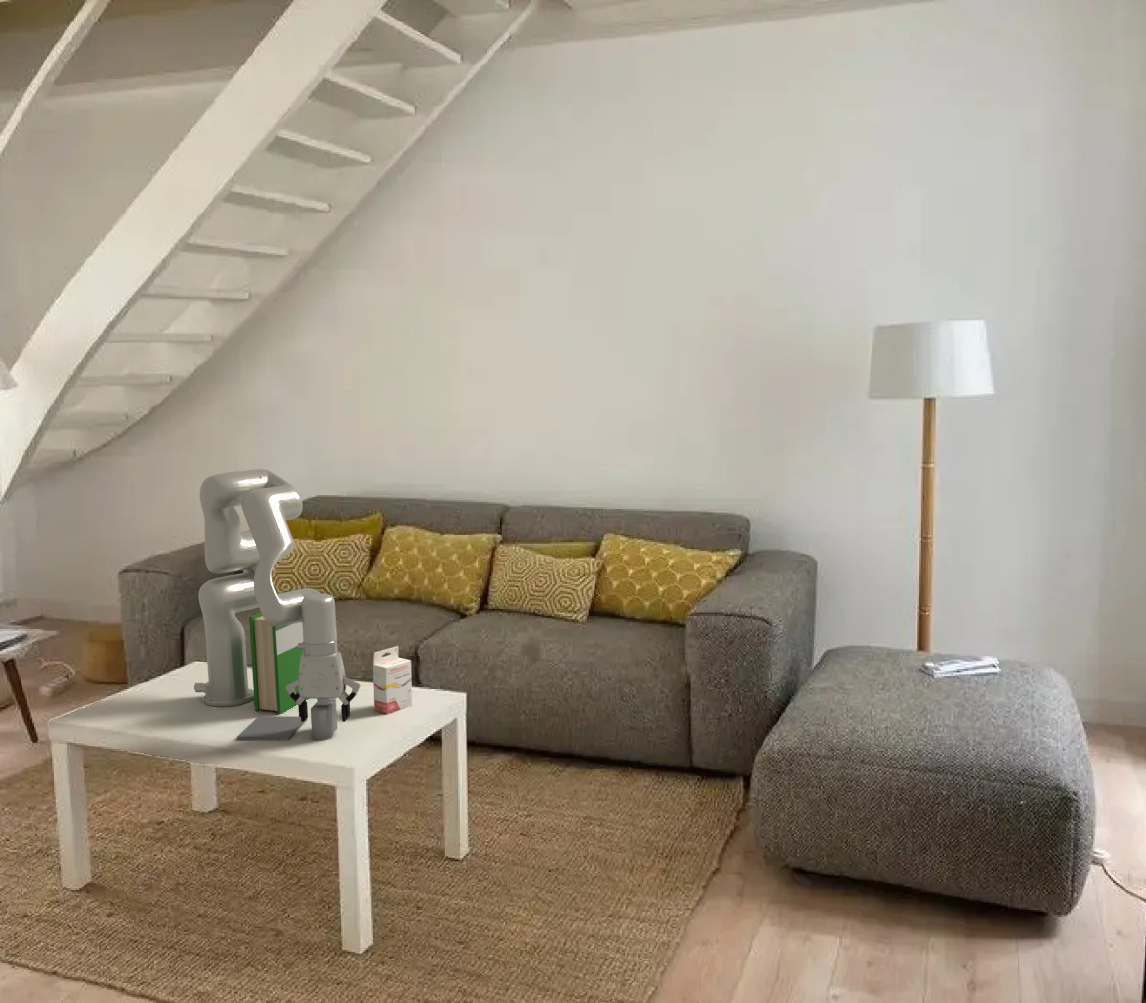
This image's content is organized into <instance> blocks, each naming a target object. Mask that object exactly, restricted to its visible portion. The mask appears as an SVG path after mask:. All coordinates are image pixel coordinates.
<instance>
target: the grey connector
mask: <svg viewBox="0 0 1146 1003" xmlns="http://www.w3.org/2000/svg"><path fill="white" fill-rule="evenodd" d="M316 700H317V701H316V702H315V703H314V704H313V706H312V707H311V708H310V722H311V738H312V739H311V740H313V741H317V742H321V741H327V740H328V739H331V737H332V735H333V734H334V733H335V732H336V730H338V718H337V717H338V714H337V698H327V699H316Z"/></svg>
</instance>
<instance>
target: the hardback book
mask: <svg viewBox="0 0 1146 1003" xmlns="http://www.w3.org/2000/svg"><path fill="white" fill-rule="evenodd" d="M248 621H249V638H250V639H249V640H250V654H251V656H250V657H251V671H252V687H253V689H252V690H253V691H254V698H253V703H254V712H255V711H256V712H255V713H259V711H260V710H262V709H264V710H266V711H274V712H276V713H277V714H281V715H283V714H285V713H287V712H288V711H287V710H289V709H290V710H292V709H293V707H294V706H296V705H297V704H296V702H295V701H294V700H293V699H292V698H291V697H290V694H289V693H288V691H287V689H286V686H287V685H288V684H289V683H291V682H293V681H295V680H297V679H298V678H299V664H300V657H301V655H302V654H303V650H302V649H298V643H303V626H302V622H299V623H295V624H291V625H287V626H282V627H274V626H271V625H270V624H268V623H267V622H266V620H265V619H264V617H263V615H262V613H261V611H260V612H258V613H256V614H253V615H251V616H249V617H248ZM294 689H295V691H296V692H297V693H298V694H299V685H298V686H296V687H294ZM308 699H309V698H306V699H305V701H306V700H307V701H308ZM309 700H310V699H309ZM296 707H297V706H296ZM291 708H292V709H291ZM294 708H295V707H294ZM264 710H262V711H264ZM290 710H289V711H290ZM286 711H287V712H286ZM260 712H261V711H260ZM284 712H285V713H284ZM282 713H283V714H282Z"/></svg>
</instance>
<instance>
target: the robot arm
mask: <svg viewBox="0 0 1146 1003" xmlns="http://www.w3.org/2000/svg"><path fill="white" fill-rule="evenodd" d="M199 502H200V506H201V510H202V514H203V521H204V529H203V530H204V561H205V566H206V568H207V570H208V571H209V572H211V573H213V574H227V573H234V572H238V571H242V573H237V574H230V575H226V576H221V577H215V578H212V579H209V580H206V582H204V583H203V584H202V585H201V586H200V588H199V590H198V595H197V596H198V602H199V607H200V610H201V614H202V618H203V625H204V626H203V627H204V633H205V634H204V636H205V646H206V647H205V648H206V663H207V664H206V665H207V676H208V678H207V679H208V681H207V682H206V683H205V682H195V683H194V684H193V685H194V686H193V689H194V692H195V693H204V696H203V703H204V704H205V705H207V706H212V707H231V706H238V705H242V704H245V703H249V702H250V701H252V700H254V690H253V689H252V688H249V683H248V682H249V680H248V679H249V678H248V664H247V651H246V649H247V648H246V633H245V632H246V631H245V629H244V626H243V625H242V623H241V622H240V621H239V620H238V618H237V616H236V614H237V613H240V612H245V611H249V610H253V609H258V608H259V610H260V612H261V613H262V615H263V617H264V619H265V620H266V622H267V623H268V624H270V625H271V626H274V627H282V626H287V625H291V624H295V623H299V622H302V626H303V643H298V649H302V650H303V654H302V655H301V657H300V664H299V678H298V679H297V680H295V681H293V682H291V683H289V684H288V685H287V686H286V689H287V691H288V693H289V694H290V697H291V698H292V699H293V700H294V701H295V702H296V704H297V705H298V706H297V707H298V709H297V710H298V717H301V722H304V721H305V720H306V719H307V720H308V718H309V710H308V702H307V701H308V700H307V701H305V699H306V698H309V700H310V699H316V700H317V699H327V698H336V699H339V701H340V702H341V703H342V704H341V706H340V707H341V708H340V709H341V721H342V722H344V723H345V722H346V721H347V720H348V719H349V717H350V716H351V701H352V700H353V699H355V697H356V696H357V695H358V692H359V690H360V688H361V684H360V683H359V682H357V681H355V680H353V679H351V678H349V677H346V672H345V665H344V661H343V657H342V654H341V652H340V651H338V635H337V633H338V632H337V618H336V604H335V602H336V601H335V597H334V596H332V595H331V594H328V593H322V592H320V591H318V590H316V589H315V588H311V587H310V588H308V587H307V588H300V589H296V590H291V591H285V592H281V593H277V591H276V589H275V586H274V583H273V578H272V576H273V570H274V567H275V565H276V564H277V563H278V562H280V561H281V560H283V559H285V558H286V557H287V556H288V555H290V554H291V553H292V552H293V551H294V550H295V547H296V543H295V540H294V538H293V536H292V532H291V530H290V528H289V525H288V523H287V521H290V520H295V519H297V518H299V516H300V517H301V514H302V512H303V508H304V507H303V506H304V504H303V500H302V496H301V494H300V493H299V491H298V490H297V489H296V488H295V487H294V485H292V484H291V483H289V482H288V481H287V480H285V479H284V478H282V477H280V476H279V475H277V474H276V473H274V472H273V471H272V470H271V471H270V470H269V469H263V468H258V469H257V468H256V469H249V470H238V471H230V472H221V473H216V474H214V475H213V474H212V475H211V476H208V477H207V478H205V479H204V480H203V481H202V482H201V485H200V488H199ZM235 507H241V510H242V512H243V516H244V518H245V522H246V523H247V525H248V530H246V531H241V518H240V514H239V512H238V511H237V510H236V508H235ZM298 685H299V694H298V693H297V692H296V691H295V689H294V687H296V686H298ZM347 686H348V687H350V688H351V689H352V690H351V692H350V693H347V691H346V690H347Z"/></svg>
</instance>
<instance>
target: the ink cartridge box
mask: <svg viewBox="0 0 1146 1003" xmlns="http://www.w3.org/2000/svg"><path fill="white" fill-rule="evenodd" d="M386 653H387V654H388V655H386ZM384 655H385V656H384ZM372 678H373V679H372V680H373V681H372V684H373V685H372V686H373V704H374V706H373V708H374V711H376V712H378V713H383V714H385V715H388V714H391V713H394V712H397V711H400V710H404V709H407V708H409V707H408V706H410V707H412V706H413V694H412V693H413V689H412V685H413V684H412V660H411V659H408V658H407V659H406V658H401V657H399V646H398V645H396V646H394V647H390V648H386V649H383V650H379V651H375V652H373V664H372ZM411 705H412V706H411ZM406 707H407V708H406Z"/></svg>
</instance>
